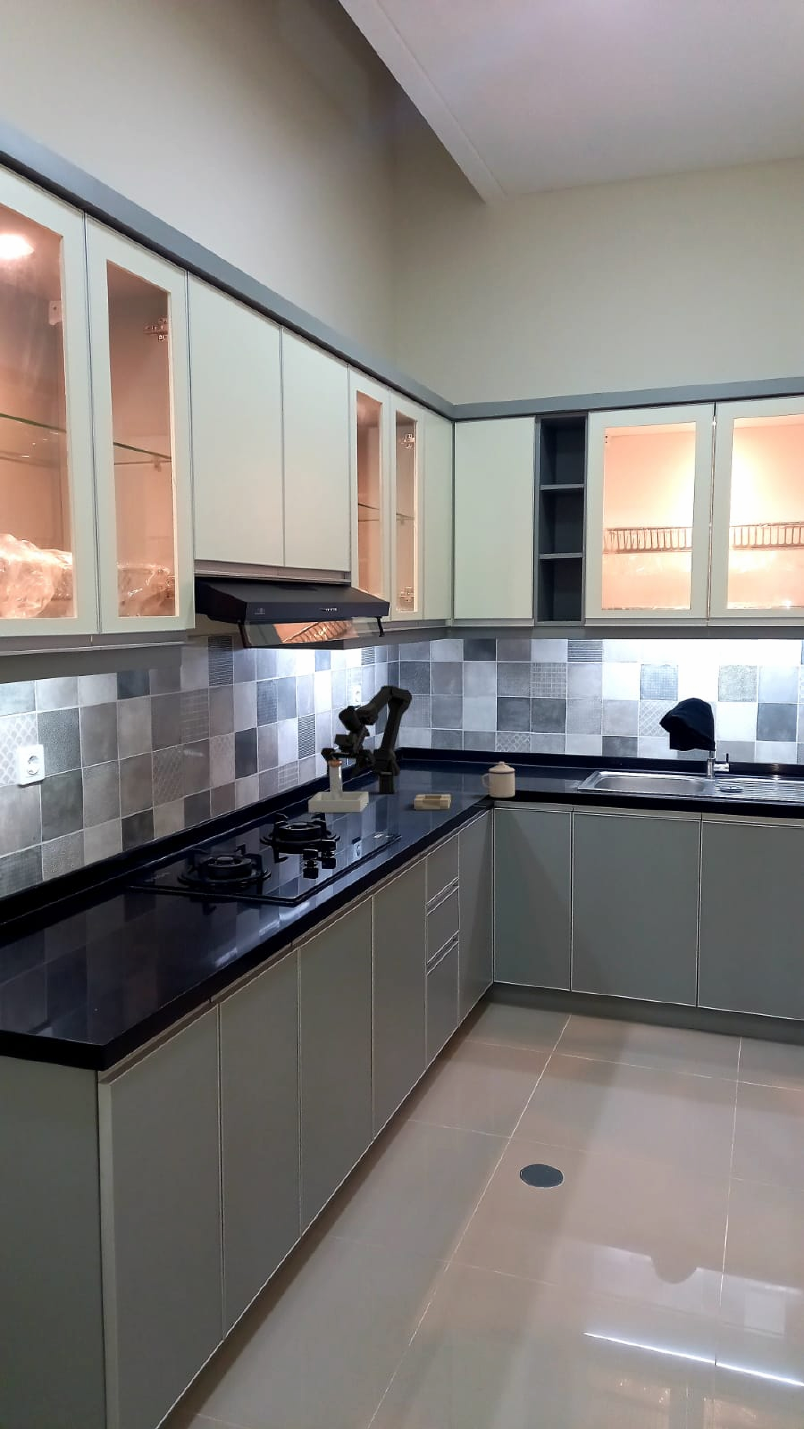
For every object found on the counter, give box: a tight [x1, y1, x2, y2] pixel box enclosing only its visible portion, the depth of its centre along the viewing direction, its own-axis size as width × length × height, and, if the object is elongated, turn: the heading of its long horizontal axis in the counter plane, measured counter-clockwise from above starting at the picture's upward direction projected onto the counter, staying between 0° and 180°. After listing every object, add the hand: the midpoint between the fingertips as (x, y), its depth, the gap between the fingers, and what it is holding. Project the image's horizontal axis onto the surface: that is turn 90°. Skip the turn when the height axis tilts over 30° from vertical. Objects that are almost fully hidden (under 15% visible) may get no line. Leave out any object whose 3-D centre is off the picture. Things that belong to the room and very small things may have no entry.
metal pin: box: [328, 759, 344, 800], centre depth 334 cm, size 5×5×15 cm
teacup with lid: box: [481, 761, 516, 799], centre depth 350 cm, size 12×9×12 cm
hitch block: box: [413, 793, 451, 811], centre depth 334 cm, size 11×11×3 cm
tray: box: [308, 791, 369, 813], centre depth 336 cm, size 17×17×4 cm
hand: (339, 776), depth 336 cm, fingers open, 9 cm apart
